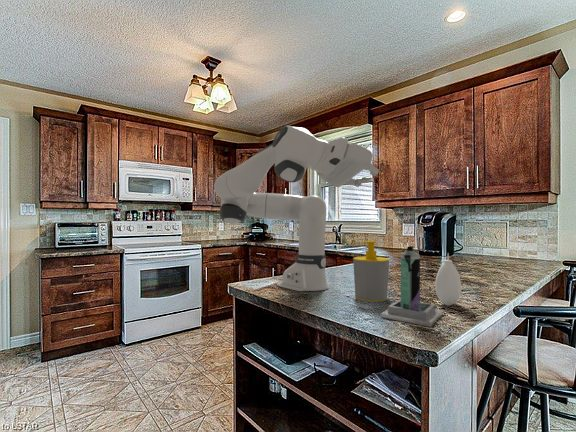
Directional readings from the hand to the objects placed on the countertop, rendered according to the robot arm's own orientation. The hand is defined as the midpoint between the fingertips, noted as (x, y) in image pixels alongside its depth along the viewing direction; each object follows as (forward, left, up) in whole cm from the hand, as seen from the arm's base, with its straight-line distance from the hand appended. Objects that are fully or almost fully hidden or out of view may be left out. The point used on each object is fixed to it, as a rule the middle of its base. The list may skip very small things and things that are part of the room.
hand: (368, 178), depth 97 cm
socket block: (+10, +10, -41) cm, 44 cm away
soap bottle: (-9, +24, -42) cm, 49 cm away
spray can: (+9, +10, -40) cm, 43 cm away
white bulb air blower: (+16, +31, -42) cm, 54 cm away
